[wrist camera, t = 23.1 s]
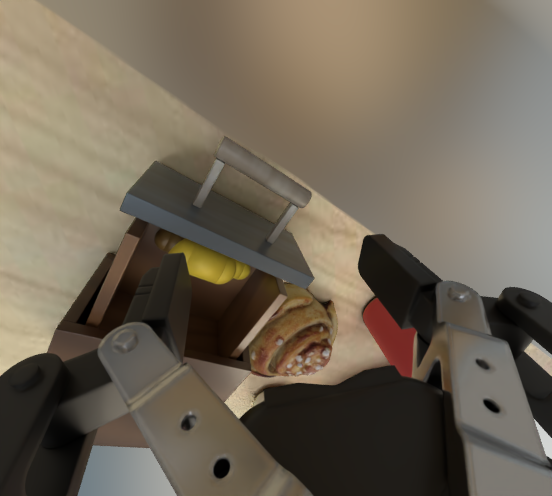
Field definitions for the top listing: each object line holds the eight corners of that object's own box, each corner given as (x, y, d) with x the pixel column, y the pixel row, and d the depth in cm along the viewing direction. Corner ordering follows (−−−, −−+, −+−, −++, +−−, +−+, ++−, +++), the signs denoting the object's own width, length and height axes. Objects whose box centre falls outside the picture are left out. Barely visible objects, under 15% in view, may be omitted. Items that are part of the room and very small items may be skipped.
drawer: (182, 99, 18) (163, 103, 12) (322, 192, 23) (358, 228, 17) (101, 284, 24) (61, 349, 18) (226, 321, 30) (228, 380, 24)
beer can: (383, 328, 38) (441, 413, 28) (351, 318, 35) (403, 408, 25) (413, 297, 36) (489, 378, 26) (382, 284, 33) (453, 369, 23)
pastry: (336, 331, 37) (362, 383, 31) (239, 364, 37) (244, 424, 30) (324, 262, 30) (356, 312, 23) (202, 302, 29) (199, 365, 23)
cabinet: (108, 252, 24) (55, 329, 16) (243, 299, 30) (251, 371, 22) (67, 348, 29) (12, 441, 21) (190, 372, 35) (182, 450, 27)
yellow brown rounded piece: (142, 261, 21) (146, 253, 18) (157, 228, 22) (163, 217, 19) (236, 294, 24) (250, 292, 22) (245, 265, 26) (259, 260, 23)
